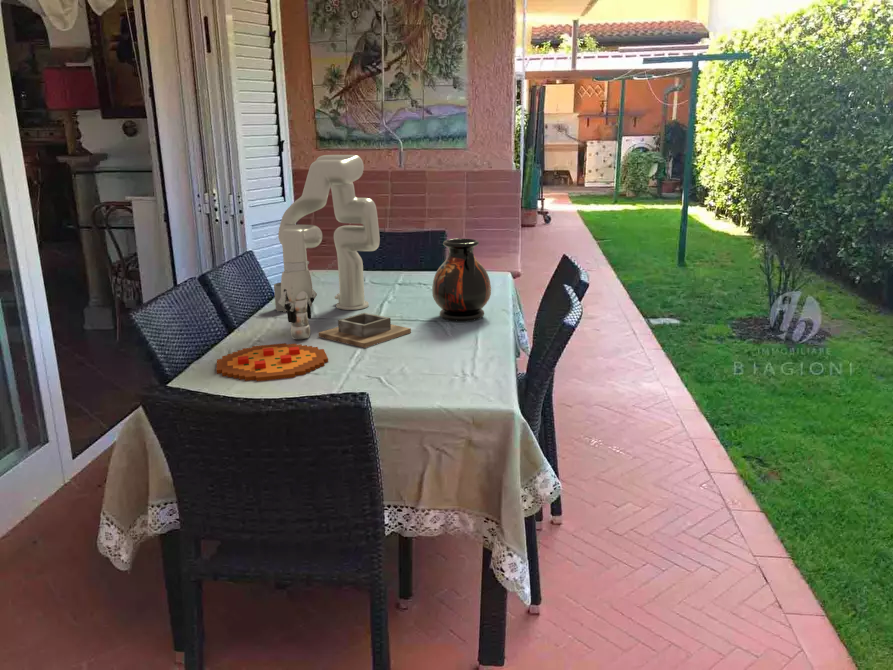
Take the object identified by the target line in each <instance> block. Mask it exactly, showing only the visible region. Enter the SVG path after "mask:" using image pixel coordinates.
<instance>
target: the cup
mask: <svg viewBox="0 0 893 670" xmlns="http://www.w3.org/2000/svg"><path fill="white" fill-rule="evenodd" d="M273 292H274V302H275V303H274V305H275V311H276V310H277V311H276V312H278V311H283V312H282V313H287V312H286V310H285V308H283V307H282V306H281V305H280V304H279V303H278V302H279V300H280V298H281V282H276V283H274V284H273ZM286 302H287V301H285V303H286Z"/></svg>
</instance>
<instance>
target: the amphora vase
mask: <svg viewBox="0 0 893 670" xmlns="http://www.w3.org/2000/svg"><path fill="white" fill-rule="evenodd" d="M479 244H480V242H479V240H477V239H474V238H451V239H446V240H444V241H443V243H442V245H443V246H444V247H447V248H448V255H447V258H446V259H445V260H444V262H443V263H442V264H441V265H440V266H438V269H437V270H436V272H435V274H434V278H433V280H432V286H431V287H432V289H431V291H432V292H431V293H432V297H433V301H434V302H435V304H436V305H437V306H438V307H439V308H440V309H441V310H440V311H439V317H441V318H442V319H444V320H446V321H450V322H463V323H464V322H472V321H477V320H480V319H481V318H483V317H484V315H485V311H484V310H483V308H484V307H485V306H486V305H487V303H488V302H489V300H490V298H491V296H492V285H491V280H490V277H489V275H488V272H487V269H486V268H485V267H484V266H483V265H482V263H481V262H480V261H478V259H477V258H476V257H475V255H474V248H475V247H478V245H479Z"/></svg>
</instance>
